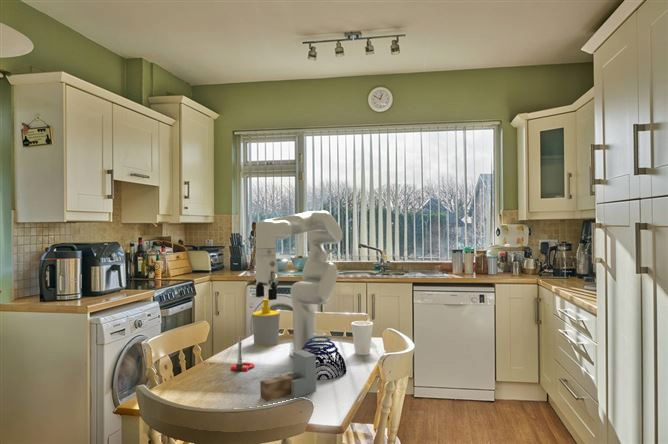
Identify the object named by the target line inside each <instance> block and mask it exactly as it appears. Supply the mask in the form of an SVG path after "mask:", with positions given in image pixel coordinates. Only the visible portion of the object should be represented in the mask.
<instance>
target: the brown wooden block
mask: <svg viewBox="0 0 668 444" xmlns="http://www.w3.org/2000/svg"><path fill="white" fill-rule="evenodd" d="M295 379H299V376H298V375H296V374H294V373H290V374H286V375H283V376H280V375H279V376H274V377H271V378H266V379H262V380H260V382H259V383H260V385H259V386H260V387H259V388H260V389H259V390H260V399H262V400H263V401H265V402H269V401H270V402H271V401H273V400H277V399H281V398H285V397H288V396H291V380H295Z"/></svg>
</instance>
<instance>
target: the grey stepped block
mask: <svg viewBox="0 0 668 444" xmlns="http://www.w3.org/2000/svg"><path fill="white" fill-rule="evenodd" d="M316 362H317V361H316V355H315V354H312V353H309V352H307V351H304V350H300V351H295V352H293V357H292V367H293V368H292V369H293V370H292V371H288V372H286V373H282V374H281V373H280V374H279V376H283V375H286V374H290V373H294V374H296V375H298V376H299V379H295V380H291V395H290V396H291V397H292V398H295V399H296V398H298V397H302V396H305V395H306V396H307V395H308V394H309V393H312V392H315V391H317V380H316V379H317V375H316V373H317V369H316V366H317V365H316Z"/></svg>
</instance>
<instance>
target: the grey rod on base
mask: <svg viewBox="0 0 668 444" xmlns="http://www.w3.org/2000/svg"><path fill="white" fill-rule="evenodd" d="M242 346H243V345H242V336H239V337H238V345H237V347H238V348H237V353H238V354H237V363H233V364H232V366H231V367H230V371H239V372H242V371H243V372H249V370H251V369H253V368H255V363H252V362H243V357H242Z"/></svg>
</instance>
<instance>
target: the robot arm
mask: <svg viewBox="0 0 668 444" xmlns="http://www.w3.org/2000/svg"><path fill="white" fill-rule="evenodd" d="M304 233H306V239H307V242H308V243H307V244H308V248H309V254H308V257H307V260H306V262H305V264H304V266H303V269H302V272H301V277H302V280H301V281H296V282H294V283H293V284H292V285H291V287H290V297H291V304H292V315H293V316H292V317H293V318H292V321H293V322H292V323H293V324H292V325H293V326H292V327H293V330H292V331H293V349H291V350H290V352H289V355H290V357H291V358H293V352H295V351H300V350H302V347H304V345H305V344H306V343H307V342H309V341H308V340H309V339H310V338H312V337H316V336H314V335H313V334H314V333H316V312H315V309H314V307H313V305H321V306H322V305H326V304H327V303H328V301H330V298H331V295H332V294H333V290H334V288H335V285H336V282H337V278H338V269H337V268H338V267H337V265H336V264H335V263H333V262H331V261H328V252H327V251H326V249H325V248H324V246H323V245H326V244H327V245H335V244H336V245H337V244H339V243H341V241H342V239H343V231H342V228H341V226H340V225H339V223H338V222H337V220H336V219H335V218H334V216H333V215H332V213H330V212H329V211H327V210H308V211H304V212H301V213H300V212H299V213H296V214H290V215H289V214H288V215H285V216H280V217H272V218H268V219H263V220H258V221H257V222H255V257H256V260H255V273H254V274H253V277H254V283H255V284H254V285H255V296H256V298H262V297H264V296H265V286H264V285H267V286H268V295H267V296H268V298H267V299H269V301H273V300H274V301H276V300H277V299H278V297H277V295H278V293H277V292H278V291H277V289H278V285H279V280H280V279H279V269H278V268H279V267H278V260H277V256H276V255H277V253H276V252H277V251H276V250H277V245H276V244H277V241H276V240H286V239H288V238H290V237H291V236H294V235H301V234H304ZM312 340H314V341H316V338H314V339H312ZM312 344H325V343H309V344H307V345H312ZM312 347H320V348H323V347H325V346H312ZM304 350H305V351H309V350H311V349H306V348H304ZM311 352H312V351H311ZM315 353H316V352H315ZM318 353H320V352H318Z"/></svg>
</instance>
